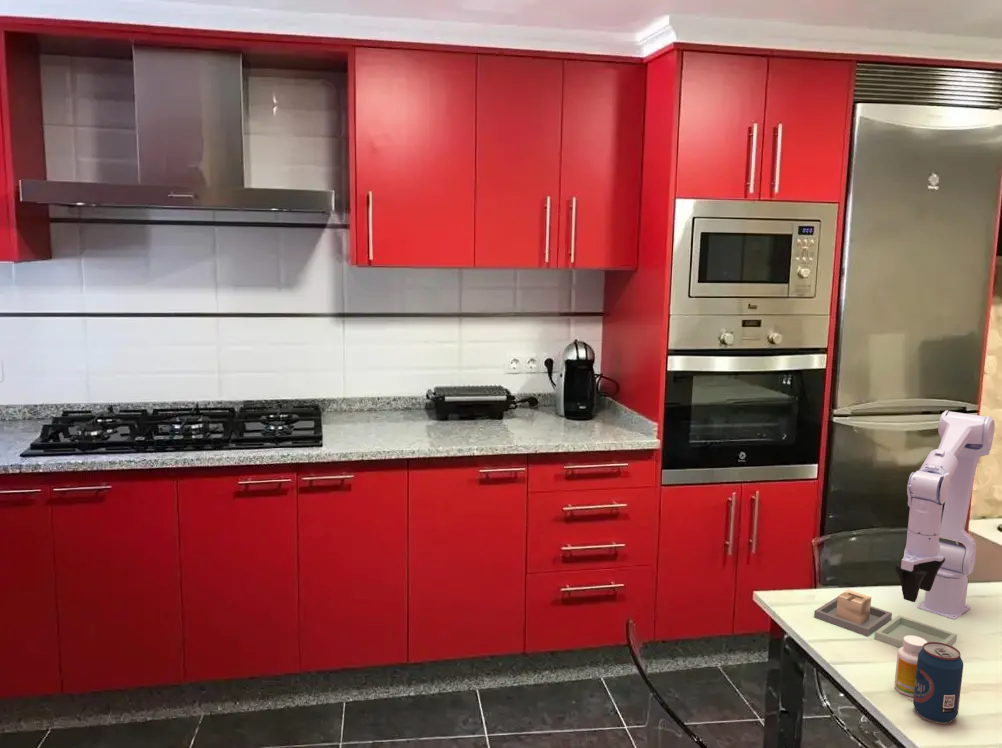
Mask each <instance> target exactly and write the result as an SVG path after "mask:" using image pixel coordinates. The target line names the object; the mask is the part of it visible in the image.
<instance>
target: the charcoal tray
mask: <svg viewBox="0 0 1002 748" xmlns="http://www.w3.org/2000/svg"><path fill="white" fill-rule="evenodd" d="M837 600H838V596H836V597H835V598H833V599H831V600H830V601H828V602H826V603H825V604H822V606H819V607H818V608H817V609H815V610H814V611H813V612H814V613H813V618H815V619H817V620H820V621H823V622H825V623H829V624H831V625H834V626H837V627H840V628H842V629H845V630H847V631H851V632H853V633H857V634H858V635H863V636H865V637H866V638H867V637H869V636H871V635H872V634H873V633H875V632H876V631H877V630H878V629H880V628H881V627H883V626H884V625H886V624H887V623H888V622H890V621H891V620H892V619H893V618H892V617H893V616H892V615H893V613H892V612H891V611H888V610H884V609H881V608H878V607H875V606H872V605H871V606H870V617H869V619H868V620H867V621H865V622H864V623H863V624H861V625H859V624H856V623H853V622H850V621H848V620H845V619H842V618H839V617H836V612H837Z"/></svg>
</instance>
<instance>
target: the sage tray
mask: <svg viewBox="0 0 1002 748" xmlns="http://www.w3.org/2000/svg"><path fill="white" fill-rule="evenodd" d="M910 635H911V636H917V637H921V638H923V639H925V640H926V641H927V642H939V643H944V644H948V645H950V646H953V645H954V644H956V642H957V636H958V634H956V633H954V632H950V631H947V630H945V629H941V628H938V627H936V626H933V625H929V624H927V623H924V622H921V621H918V620H914V619H911V618H909V617H905V616H902V615H899V614H898V615H897V616H895V617H894V618H892V619H891V620H890V621H889V622H887V623H886V624H885V625H883V626H882V627H880V628H879V629H878V630H876V631H875V632H874V637H873V638H874V640H875V641H879V642H881V643H885V644H888V645H890V646H892V647H896V648H899V649H900V648H901V647H903V638H904V637H905V636H910Z"/></svg>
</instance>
